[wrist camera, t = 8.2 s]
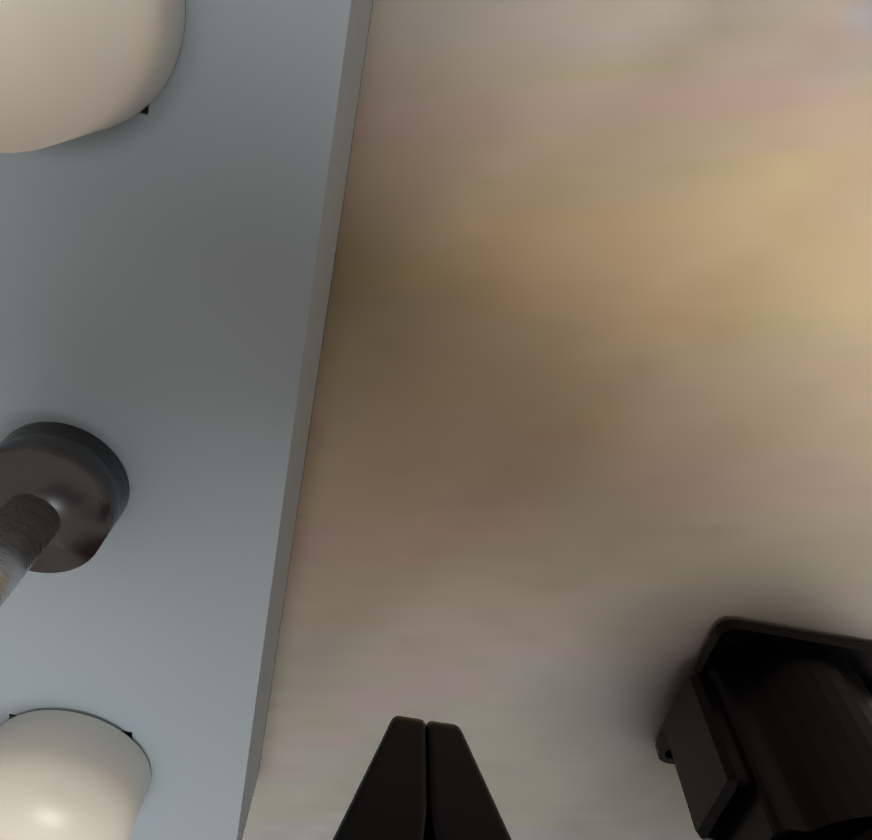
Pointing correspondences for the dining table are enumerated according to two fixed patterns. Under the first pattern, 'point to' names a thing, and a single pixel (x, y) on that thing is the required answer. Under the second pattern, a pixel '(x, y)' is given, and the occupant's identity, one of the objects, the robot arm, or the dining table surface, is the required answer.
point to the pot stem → (55, 499)
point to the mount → (181, 386)
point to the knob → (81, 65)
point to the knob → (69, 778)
